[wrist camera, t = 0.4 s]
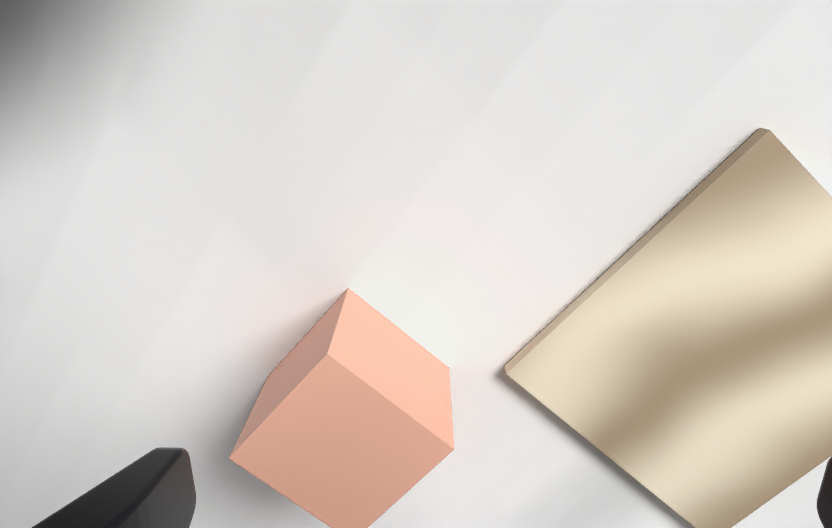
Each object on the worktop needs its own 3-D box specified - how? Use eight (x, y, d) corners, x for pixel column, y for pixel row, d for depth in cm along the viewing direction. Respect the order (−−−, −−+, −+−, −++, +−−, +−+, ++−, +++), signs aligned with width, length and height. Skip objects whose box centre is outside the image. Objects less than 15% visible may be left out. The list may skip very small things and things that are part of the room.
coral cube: (448, 366, 23) (454, 449, 18) (366, 446, 24) (351, 541, 20) (348, 287, 22) (327, 353, 17) (268, 374, 23) (228, 458, 19)
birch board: (961, 344, 22) (975, 352, 22) (705, 530, 26) (712, 541, 25) (760, 127, 20) (769, 130, 19) (504, 365, 23) (506, 374, 22)
